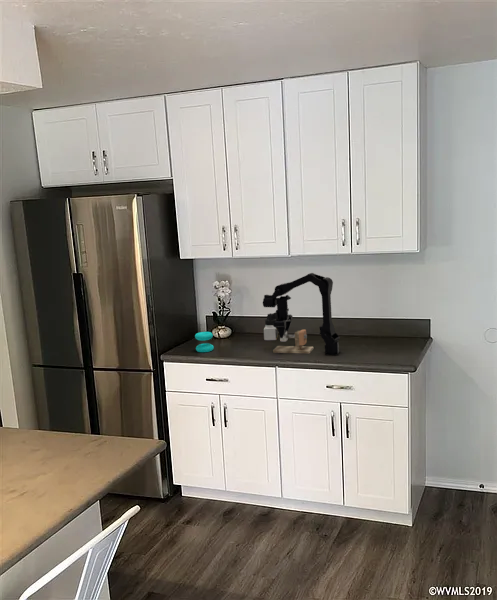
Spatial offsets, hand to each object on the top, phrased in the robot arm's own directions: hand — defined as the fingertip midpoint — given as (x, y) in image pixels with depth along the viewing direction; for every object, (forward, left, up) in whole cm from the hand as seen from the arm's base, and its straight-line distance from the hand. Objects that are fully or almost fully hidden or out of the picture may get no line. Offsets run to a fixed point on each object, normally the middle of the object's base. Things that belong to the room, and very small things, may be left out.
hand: (283, 336), depth 327 cm
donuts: (+45, +4, -8) cm, 46 cm away
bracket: (-5, 0, -8) cm, 9 cm away
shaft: (-5, 0, -2) cm, 6 cm away
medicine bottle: (+15, -26, -8) cm, 31 cm away
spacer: (-10, 0, -4) cm, 11 cm away
